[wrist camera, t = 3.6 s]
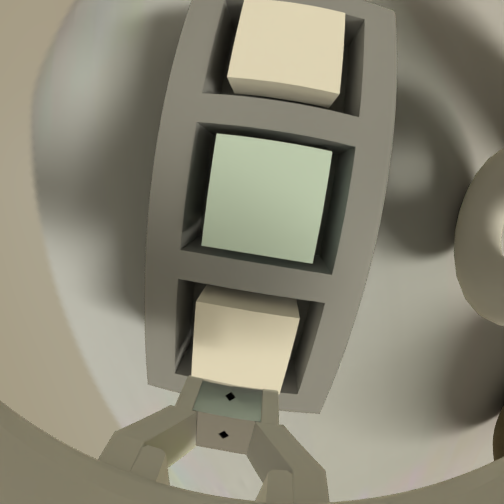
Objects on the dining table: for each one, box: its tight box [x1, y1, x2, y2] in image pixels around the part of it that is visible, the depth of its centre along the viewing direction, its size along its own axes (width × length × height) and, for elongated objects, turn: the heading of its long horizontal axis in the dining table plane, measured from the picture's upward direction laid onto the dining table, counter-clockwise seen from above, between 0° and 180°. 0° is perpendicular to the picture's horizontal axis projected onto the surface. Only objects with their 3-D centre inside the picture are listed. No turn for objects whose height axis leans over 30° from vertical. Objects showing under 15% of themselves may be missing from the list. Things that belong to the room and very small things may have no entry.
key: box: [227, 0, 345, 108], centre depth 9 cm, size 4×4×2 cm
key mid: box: [201, 134, 332, 264], centre depth 10 cm, size 4×4×2 cm
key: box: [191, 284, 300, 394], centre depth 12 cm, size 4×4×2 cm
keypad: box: [144, 0, 397, 414], centre depth 13 cm, size 20×9×5 cm, turn 172°
